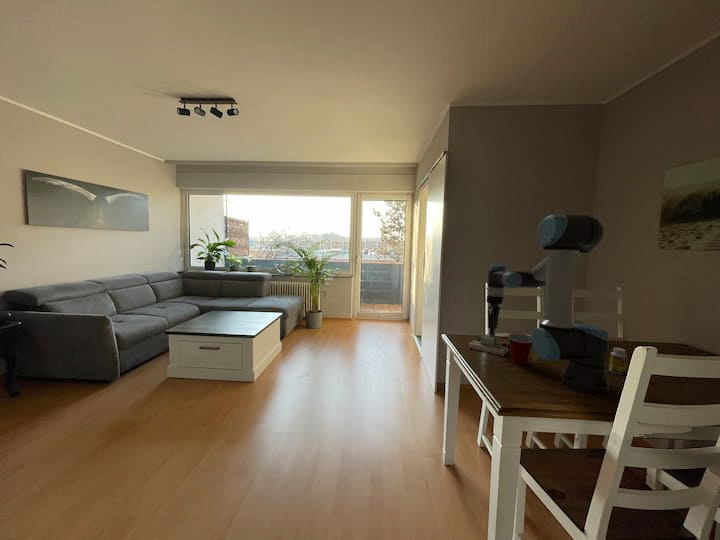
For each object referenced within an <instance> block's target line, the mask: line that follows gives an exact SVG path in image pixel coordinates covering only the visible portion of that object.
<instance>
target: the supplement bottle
mask: <svg viewBox="0 0 720 540" xmlns="http://www.w3.org/2000/svg"><path fill="white" fill-rule="evenodd" d="M627 362H628V355H627V354H626V349H624V348H620V347H613V351H611V352H610V357H609V365H608V370H609V371H610V372H611V373H612V374H613V373H614V374H616V373H617V375H624V374H623V373H625V374H626V370H627Z"/></svg>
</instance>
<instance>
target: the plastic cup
mask: <svg viewBox="0 0 720 540" xmlns="http://www.w3.org/2000/svg"><path fill="white" fill-rule="evenodd" d="M507 338H508V341H510V355H511V356H510V357H511V362H512V363H513V364H516V365H519V366H520V365H522V366H525V365H526V364H527V362H528V357H529V355H530V351H531V348H532V347H533V346H532V342H531V335H528V334H527V335H526V334H523V333H509V334H508V335H507ZM524 364H525V365H524Z"/></svg>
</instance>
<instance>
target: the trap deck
mask: <svg viewBox="0 0 720 540" xmlns="http://www.w3.org/2000/svg"><path fill="white" fill-rule="evenodd" d="M482 336H483V334H481V335H479V336H478V337H477V338H476V340H472V341H469V343H468V349H470V348H473V349H472V350H475V349H477V350H476V351H479V350H481V351H480V352H483V351H485V352H484V353H488V352H489V353H488V354H492V353H493V355H496V354H497V355H496V356H500V355H501V357H505V356H506V355H507V354H508V353H509V352H511V350H510V341H509V339H502V338H499V337H497V345H495V346H494V347H488V346H484V345H481V337H482ZM508 351H509V352H508ZM507 352H508V353H507ZM506 353H507V354H506ZM505 354H506V355H505ZM504 355H505V356H504Z"/></svg>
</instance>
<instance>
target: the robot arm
mask: <svg viewBox="0 0 720 540" xmlns="http://www.w3.org/2000/svg"><path fill="white" fill-rule="evenodd" d="M603 237H604V227H603V224H602V223H601V221H600V220H598V218H597V217H593V216H591V215H586V214H585V215H578V214H566V213H565V214H563V213H560V214H559V213H557V214H555V213H554V214H549V215H547V216H546V217H544V218H543V219H542V221H540V222H539V225H538V227H537V230H536V239H537V242H538V244H539V245H541V246H542V251H543V252H544V253H545V254H546V255H547V256H546V257H545V258H544V259H542V260H541V261H540V262H539V263H538V264H536V265H535V266H534V267H533V268H532V269H530V270H529V271H528V270H527V271H521V270H520V271H519V270H506V267H505V265H501V264H491V265H489V267H488V274H487V275H488V277H487V287H486V290H487V295H486V303H488V304H489V305H490V306H489V307H488V310H487V317H488V318H487V328H488V329H489V331H488V332H489V333H488V335H492V336H496V331H497V329H498V322H499V314H500V310H501V308H500V306H499V305H502V304H503V301H504V297H503V296H504V291H505V289H504V287H506V288H509V289H510V288H512V289H516V288H534V289H535V288H544V287H545V291H544V292H545V294H544V309H543V310H544V313H543V318H542V319H541V320H539V321H538V327H536V328H534V329H533V331H532V332H531V334H530V337H531V342H532V346H531V347H532V348H533V350H534V351H535V353H536V354H537V356H538V357H540V358H542V359H543V360H548V361H567V364H566V366H565V368H564V369H563V371H562V373H561V382H562V383H563V384H564V385H566V386H568V387H569V388H571V389H575V390H578V391H580V392H583V393H584V392H585V393H591V394H595V393H596V394H598V393H605V394H608V393H609V392H610V382H609V378H608V375H607V371H606V366H607V365H606V364H607V358H608V349H609V343H610V341H609V333H608V331H607V330H605V329H602V328H600V327H597V326H592V325H588V324H585V323H577V322H574V323H573V322H572V304H573V291H574V290H573V286H574V285H573V284H574V270H575V259H576V258H578V257H579V256H582V254H588V253H589V252H592V251H593V250H594V249H595V248H596V247H597V246H598V245H599V244H600V243H601V242H602V240H603ZM607 392H608V393H607Z"/></svg>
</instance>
